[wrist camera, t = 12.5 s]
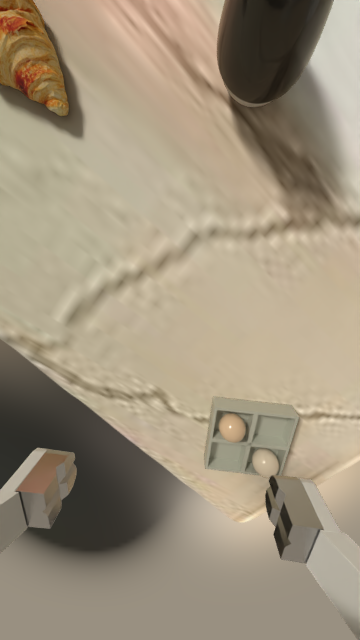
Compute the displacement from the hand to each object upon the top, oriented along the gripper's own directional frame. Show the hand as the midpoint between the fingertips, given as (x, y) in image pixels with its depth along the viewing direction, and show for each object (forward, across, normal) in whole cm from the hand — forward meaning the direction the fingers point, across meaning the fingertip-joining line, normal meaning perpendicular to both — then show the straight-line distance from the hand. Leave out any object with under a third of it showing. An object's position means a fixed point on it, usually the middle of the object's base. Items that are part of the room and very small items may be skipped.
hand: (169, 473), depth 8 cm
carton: (+28, -13, +25) cm, 39 cm away
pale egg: (+27, -17, +28) cm, 43 cm away
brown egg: (+27, -10, +21) cm, 35 cm away
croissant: (+28, +25, -33) cm, 50 cm away
